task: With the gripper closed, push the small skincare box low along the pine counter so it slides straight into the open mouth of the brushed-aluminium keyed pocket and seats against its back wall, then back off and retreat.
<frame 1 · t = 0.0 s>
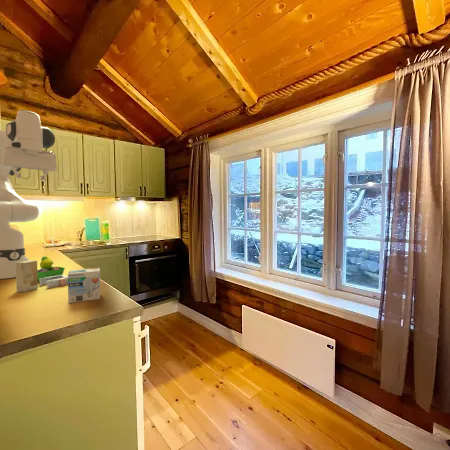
hand: (31, 179, 116), 48 cm above the counter, fingers open, 8 cm apart
fruit basket: (49, 279, 127), on the counter
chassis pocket: (53, 284, 117), on the counter
skincare box: (27, 290, 109), on the counter
light bulb box: (85, 299, 98), on the counter
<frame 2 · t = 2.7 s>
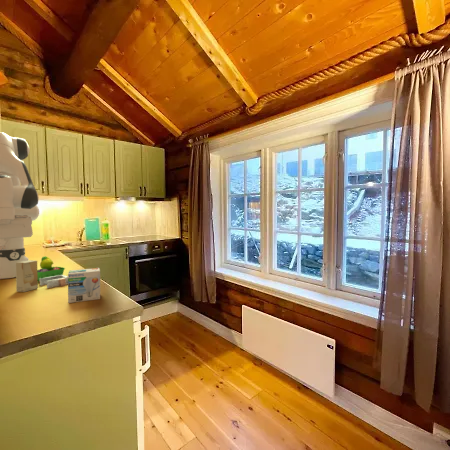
hand: (1, 250, 102), 18 cm above the counter, fingers closed
nothing on the counter moved.
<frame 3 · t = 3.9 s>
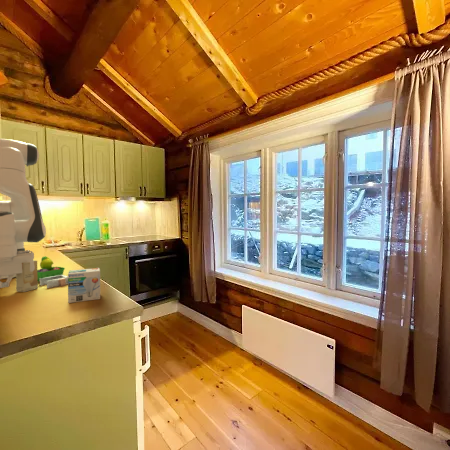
hand: (4, 287, 102), 3 cm above the counter, fingers closed
nothing on the counter moved.
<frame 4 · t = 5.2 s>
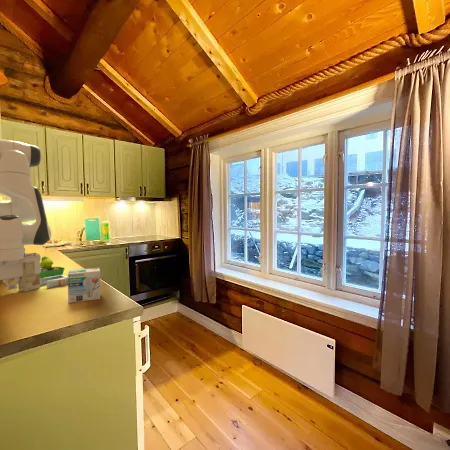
hand: (11, 289, 105), 2 cm above the counter, fingers closed
skincare box: (29, 289, 110), on the counter, touching gripper
everything else where it was.
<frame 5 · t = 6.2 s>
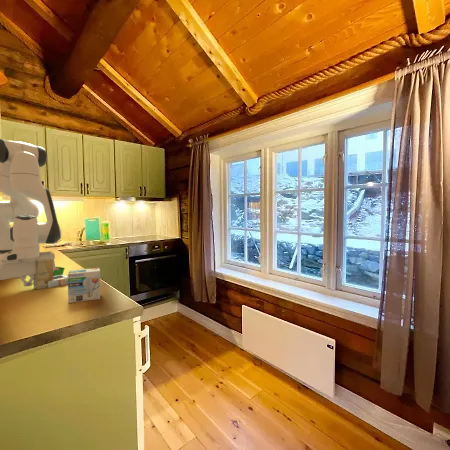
hand: (28, 286, 110), 2 cm above the counter, fingers closed
skincare box: (43, 287, 113), on the counter, touching gripper
everything else where it was.
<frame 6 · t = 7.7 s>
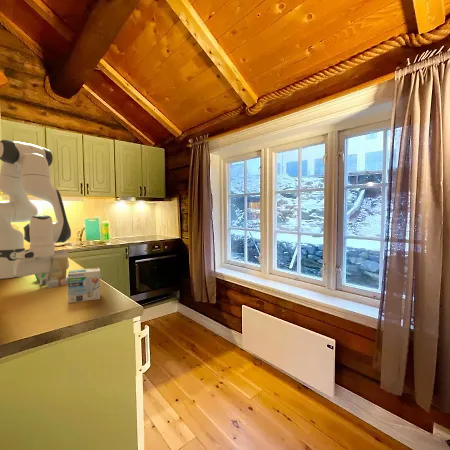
hand: (43, 282, 114), 2 cm above the counter, fingers closed
skincare box: (56, 284, 118), on the counter, touching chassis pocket, gripper
everything else where it was.
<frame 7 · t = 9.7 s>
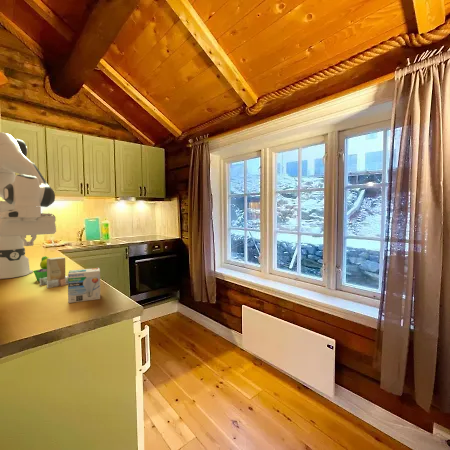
hand: (28, 245, 110), 19 cm above the counter, fingers closed
skincare box: (56, 285, 118), on the counter
everything else where it was.
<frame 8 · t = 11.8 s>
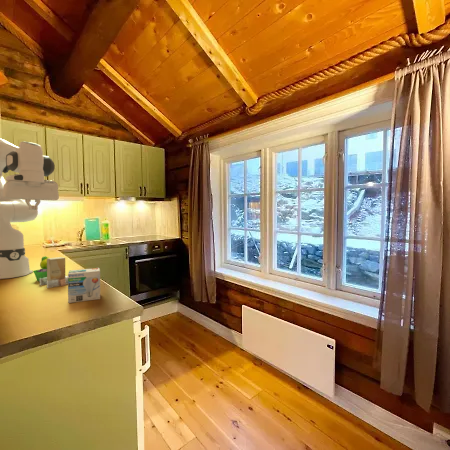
hand: (33, 209, 115), 34 cm above the counter, fingers closed
nothing on the counter moved.
at the end: skincare box 1.6 cm off-centre on the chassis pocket, point 0.0 cm above the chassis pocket's base; skincare box tilted 0°; the gripper is holding nothing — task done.
